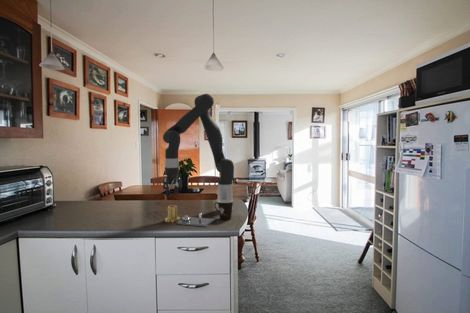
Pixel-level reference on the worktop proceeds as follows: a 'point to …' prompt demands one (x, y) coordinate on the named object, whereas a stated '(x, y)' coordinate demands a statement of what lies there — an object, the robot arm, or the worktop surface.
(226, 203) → the coffee mug
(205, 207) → the worktop surface
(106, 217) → the worktop surface
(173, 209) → the planet gear
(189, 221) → the carrier
